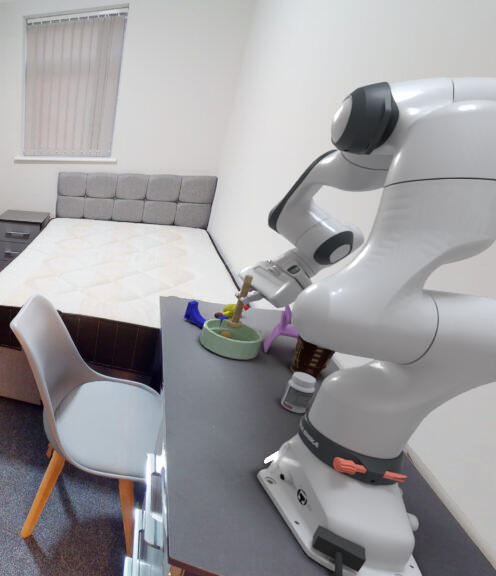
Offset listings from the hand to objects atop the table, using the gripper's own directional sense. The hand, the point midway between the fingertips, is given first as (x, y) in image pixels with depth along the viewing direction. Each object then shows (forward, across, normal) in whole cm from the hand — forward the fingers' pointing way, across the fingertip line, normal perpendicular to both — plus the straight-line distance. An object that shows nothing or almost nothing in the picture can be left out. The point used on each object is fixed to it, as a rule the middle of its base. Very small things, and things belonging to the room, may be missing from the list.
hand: (239, 299), depth 105 cm
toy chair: (0, 0, +22) cm, 22 cm away
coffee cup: (0, +10, +23) cm, 25 cm away
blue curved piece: (+12, -13, +10) cm, 20 cm away
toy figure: (+5, -18, +17) cm, 25 cm away
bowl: (+11, 0, +12) cm, 16 cm away
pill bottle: (+8, +26, +14) cm, 31 cm away
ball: (+9, -3, +10) cm, 14 cm away
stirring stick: (+6, 0, +6) cm, 8 cm away
